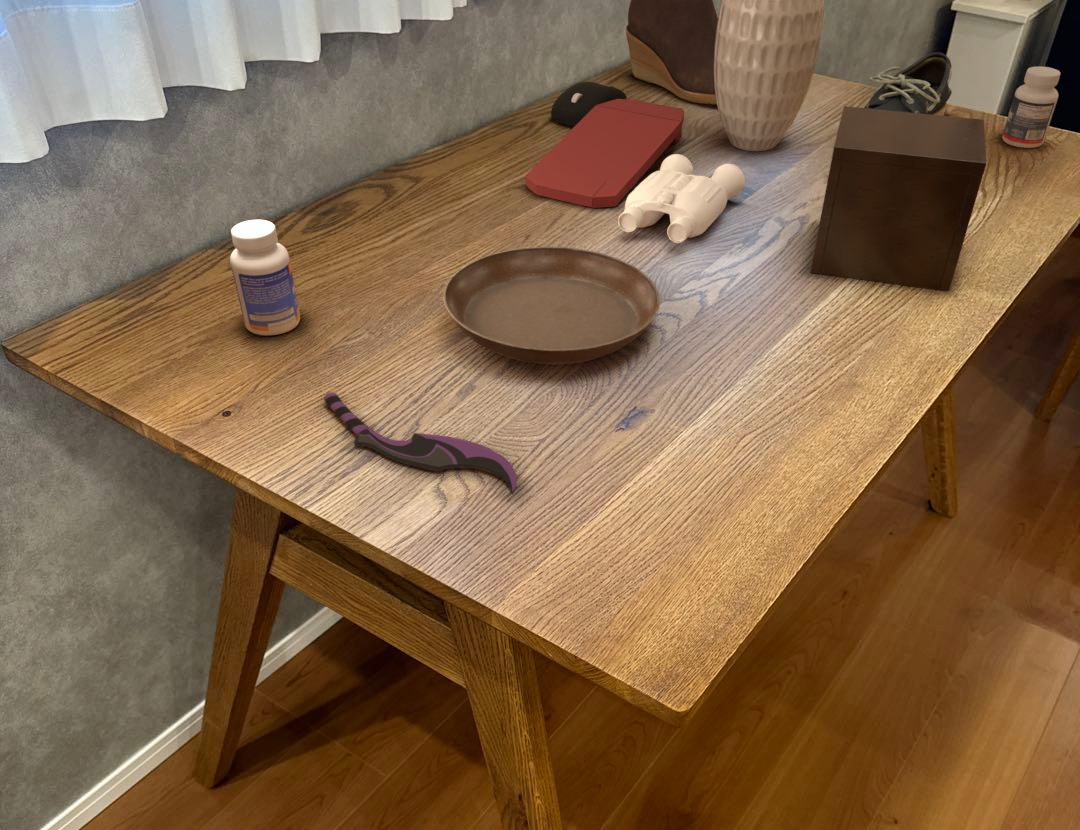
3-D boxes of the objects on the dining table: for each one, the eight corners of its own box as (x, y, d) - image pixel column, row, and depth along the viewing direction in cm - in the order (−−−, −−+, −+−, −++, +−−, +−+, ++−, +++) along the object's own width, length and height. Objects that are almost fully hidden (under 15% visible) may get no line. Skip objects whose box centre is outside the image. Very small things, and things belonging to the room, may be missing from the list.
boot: (740, 118, 141) (761, -45, 128) (607, 79, 154) (613, -73, 140) (775, 102, 146) (798, -57, 133) (643, 66, 159) (652, -82, 145)
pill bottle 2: (1008, 131, 138) (1029, 61, 132) (1048, 139, 135) (1071, 69, 129) (996, 143, 134) (1016, 72, 128) (1036, 152, 132) (1059, 80, 126)
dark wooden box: (949, 241, 112) (984, 119, 104) (949, 291, 104) (986, 163, 95) (821, 225, 116) (843, 105, 107) (810, 272, 107) (834, 146, 98)
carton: (611, 238, 121) (695, 139, 135) (610, 201, 117) (697, 103, 131) (523, 217, 125) (613, 123, 139) (519, 181, 122) (612, 88, 135)
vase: (684, 142, 135) (707, -107, 116) (746, 119, 141) (777, -121, 122) (760, 169, 128) (798, -91, 109) (821, 144, 134) (867, -106, 115)
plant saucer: (624, 264, 108) (626, 235, 106) (686, 366, 93) (689, 334, 91) (432, 284, 105) (429, 254, 103) (463, 392, 90) (461, 360, 88)
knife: (331, 396, 89) (295, 427, 86) (329, 388, 89) (293, 420, 86) (537, 467, 82) (506, 504, 79) (537, 459, 81) (505, 496, 78)
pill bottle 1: (311, 323, 99) (296, 228, 93) (264, 343, 96) (244, 247, 90) (280, 303, 102) (263, 210, 96) (233, 322, 99) (212, 228, 93)
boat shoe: (887, 171, 127) (902, 105, 122) (817, 152, 132) (829, 88, 127) (970, 116, 142) (987, 55, 137) (905, 101, 147) (919, 41, 141)
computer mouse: (639, 110, 144) (641, 80, 141) (586, 133, 137) (587, 102, 134) (598, 98, 148) (599, 69, 145) (544, 120, 141) (544, 90, 138)
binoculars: (743, 201, 120) (748, 162, 117) (695, 256, 110) (699, 214, 107) (661, 185, 124) (664, 147, 121) (606, 236, 113) (608, 196, 110)
